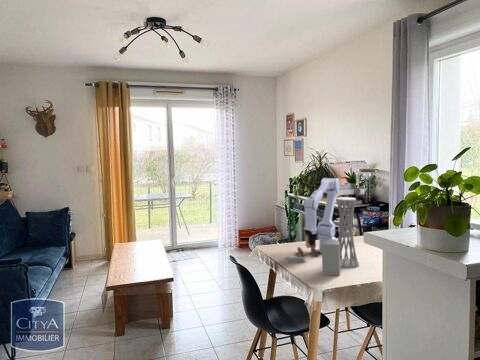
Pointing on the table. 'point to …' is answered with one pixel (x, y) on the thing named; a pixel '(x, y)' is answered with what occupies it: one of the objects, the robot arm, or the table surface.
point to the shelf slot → (311, 252)
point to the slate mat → (295, 259)
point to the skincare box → (331, 258)
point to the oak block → (309, 243)
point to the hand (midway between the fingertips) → (310, 244)
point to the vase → (353, 259)
